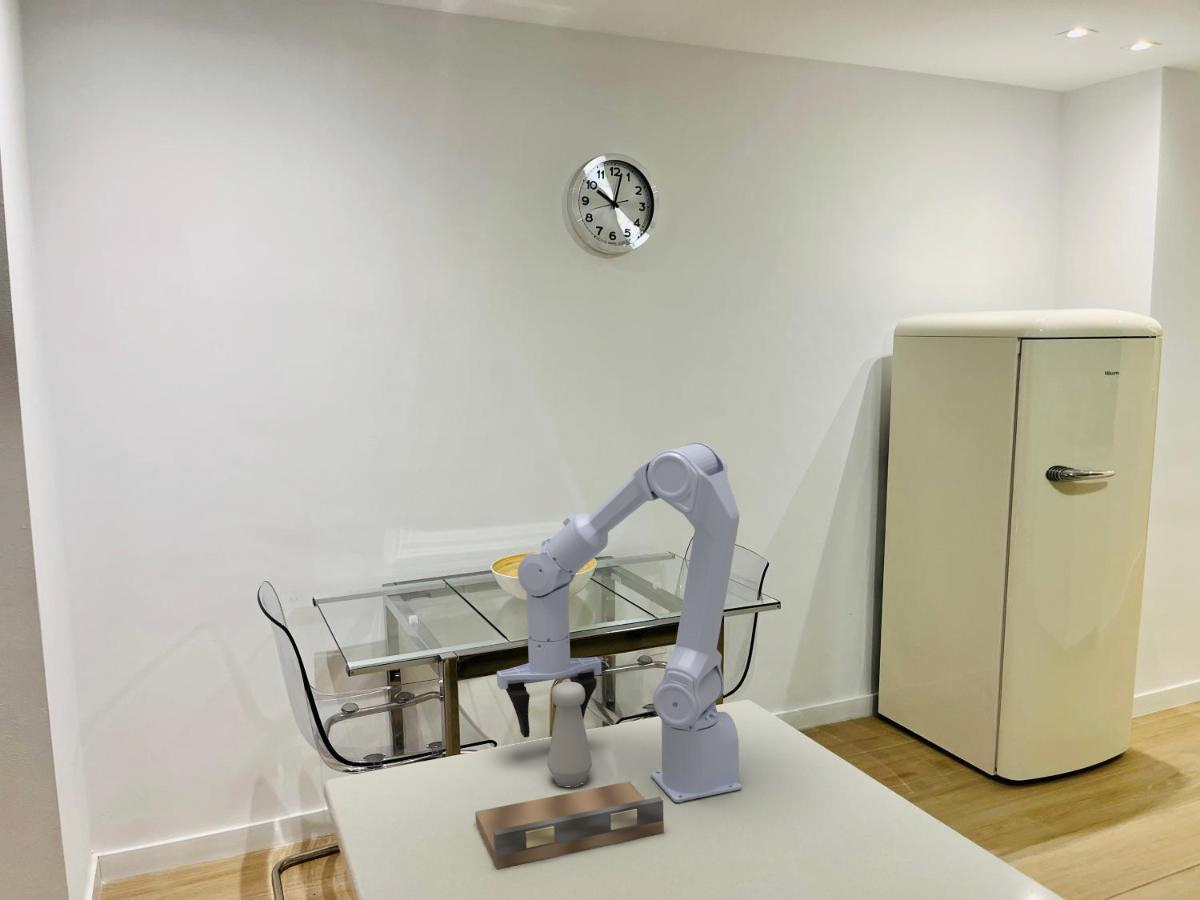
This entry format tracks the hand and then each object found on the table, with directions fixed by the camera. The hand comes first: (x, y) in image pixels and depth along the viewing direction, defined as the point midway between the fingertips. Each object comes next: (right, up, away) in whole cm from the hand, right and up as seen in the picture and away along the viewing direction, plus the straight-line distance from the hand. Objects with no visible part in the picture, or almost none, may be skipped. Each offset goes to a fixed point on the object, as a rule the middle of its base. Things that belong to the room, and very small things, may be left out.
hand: (551, 729), depth 130 cm
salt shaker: (+3, -5, -7) cm, 9 cm away
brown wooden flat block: (+3, -6, -19) cm, 20 cm away
